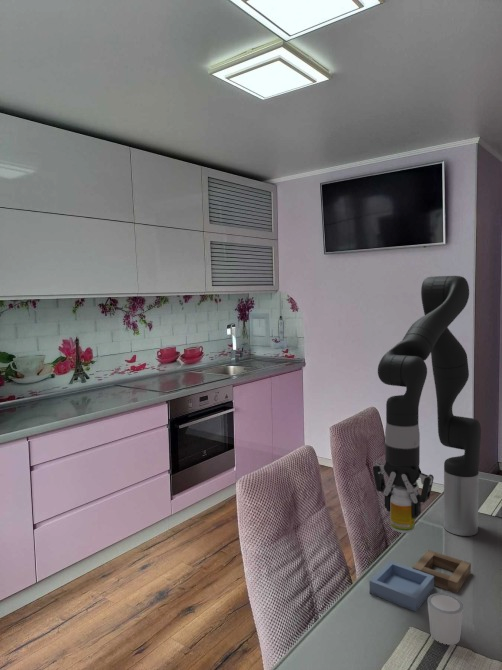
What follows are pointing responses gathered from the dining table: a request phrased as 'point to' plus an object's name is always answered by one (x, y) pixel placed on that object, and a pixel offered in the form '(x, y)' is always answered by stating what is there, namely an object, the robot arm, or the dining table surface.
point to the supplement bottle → (401, 510)
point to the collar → (440, 579)
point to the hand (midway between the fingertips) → (402, 513)
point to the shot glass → (445, 618)
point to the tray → (402, 585)
